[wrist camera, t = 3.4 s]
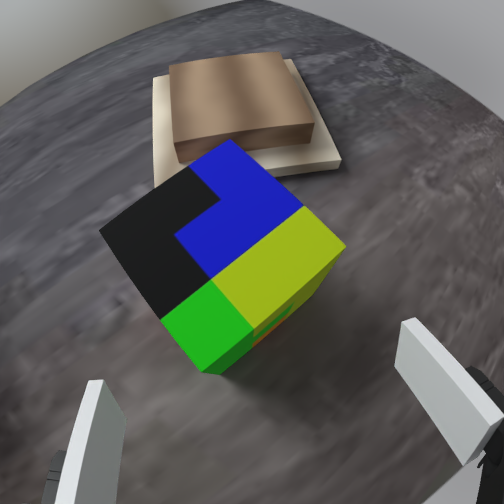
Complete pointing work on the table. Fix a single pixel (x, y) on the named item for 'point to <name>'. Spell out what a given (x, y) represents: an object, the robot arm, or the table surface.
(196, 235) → the puzzle toy
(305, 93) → the build plinth
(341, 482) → the table surface
